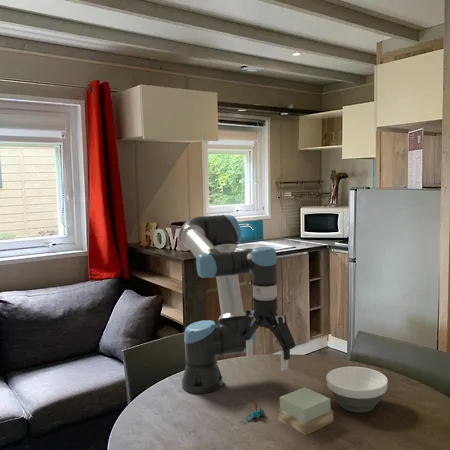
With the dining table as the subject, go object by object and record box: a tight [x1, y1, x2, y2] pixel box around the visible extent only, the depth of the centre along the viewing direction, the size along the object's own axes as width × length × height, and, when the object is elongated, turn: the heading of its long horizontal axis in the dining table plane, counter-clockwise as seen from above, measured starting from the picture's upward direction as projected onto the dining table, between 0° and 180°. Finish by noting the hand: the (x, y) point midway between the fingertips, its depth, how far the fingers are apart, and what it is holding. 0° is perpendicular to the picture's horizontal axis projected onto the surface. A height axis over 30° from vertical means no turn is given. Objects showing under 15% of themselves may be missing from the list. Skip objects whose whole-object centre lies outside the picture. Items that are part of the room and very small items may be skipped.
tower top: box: [279, 386, 332, 422], centre depth 150 cm, size 11×11×4 cm
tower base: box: [277, 408, 334, 436], centre depth 151 cm, size 12×12×4 cm
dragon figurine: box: [238, 399, 266, 425], centre depth 153 cm, size 7×7×8 cm
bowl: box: [325, 366, 389, 414], centre depth 159 cm, size 20×20×10 cm
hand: (266, 364), depth 151 cm, fingers open, 13 cm apart
